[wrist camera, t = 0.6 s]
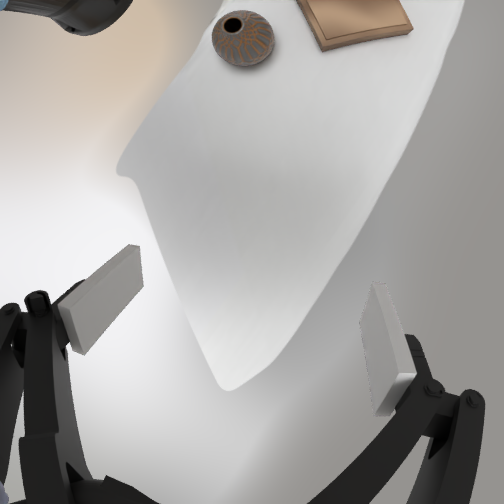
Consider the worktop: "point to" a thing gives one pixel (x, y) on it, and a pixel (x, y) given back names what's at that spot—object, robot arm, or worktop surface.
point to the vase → (243, 38)
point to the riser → (354, 21)
